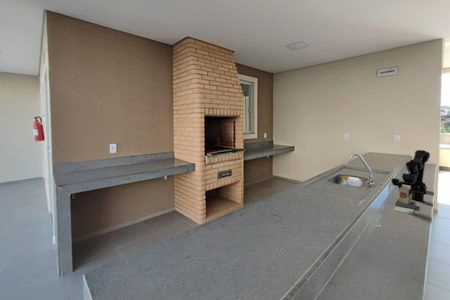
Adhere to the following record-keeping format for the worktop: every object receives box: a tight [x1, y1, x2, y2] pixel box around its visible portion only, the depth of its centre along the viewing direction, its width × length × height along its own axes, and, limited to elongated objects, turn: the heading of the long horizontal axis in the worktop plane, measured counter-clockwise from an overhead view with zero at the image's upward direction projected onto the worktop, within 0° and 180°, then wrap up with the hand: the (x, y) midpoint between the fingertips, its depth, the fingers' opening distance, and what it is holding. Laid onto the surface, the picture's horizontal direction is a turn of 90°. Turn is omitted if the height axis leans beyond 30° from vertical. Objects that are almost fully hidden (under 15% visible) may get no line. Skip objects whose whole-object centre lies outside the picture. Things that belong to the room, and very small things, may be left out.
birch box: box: [398, 186, 412, 204], centre depth 152 cm, size 5×5×10 cm
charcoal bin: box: [394, 198, 417, 211], centre depth 161 cm, size 11×11×3 cm
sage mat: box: [393, 206, 415, 215], centre depth 153 cm, size 10×10×1 cm
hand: (404, 194), depth 151 cm, fingers closed on birch box, 5 cm apart
